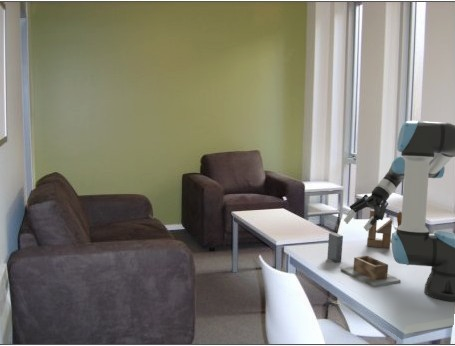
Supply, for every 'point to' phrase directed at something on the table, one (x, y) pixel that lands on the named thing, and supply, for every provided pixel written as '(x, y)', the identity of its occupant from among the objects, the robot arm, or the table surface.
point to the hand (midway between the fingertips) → (355, 225)
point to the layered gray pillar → (335, 247)
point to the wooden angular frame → (383, 229)
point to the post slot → (370, 271)
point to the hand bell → (399, 219)
